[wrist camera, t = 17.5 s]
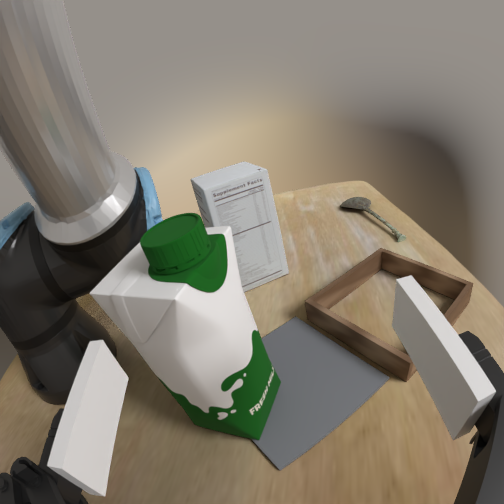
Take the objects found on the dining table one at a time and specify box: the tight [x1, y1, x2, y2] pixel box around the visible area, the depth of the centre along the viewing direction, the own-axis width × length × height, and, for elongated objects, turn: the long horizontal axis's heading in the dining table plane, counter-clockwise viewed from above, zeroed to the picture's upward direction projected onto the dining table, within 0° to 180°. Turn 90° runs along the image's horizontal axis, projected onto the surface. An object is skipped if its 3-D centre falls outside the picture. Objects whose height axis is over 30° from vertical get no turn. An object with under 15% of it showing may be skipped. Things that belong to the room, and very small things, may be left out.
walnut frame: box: [305, 248, 473, 382], centre depth 35 cm, size 15×15×3 cm
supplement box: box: [191, 162, 289, 292], centre depth 48 cm, size 10×9×17 cm
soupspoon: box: [340, 197, 406, 242], centre depth 59 cm, size 22×3×7 cm
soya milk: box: [90, 213, 281, 440], centre depth 24 cm, size 9×9×20 cm
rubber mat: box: [252, 316, 389, 470], centre depth 31 cm, size 15×14×1 cm
